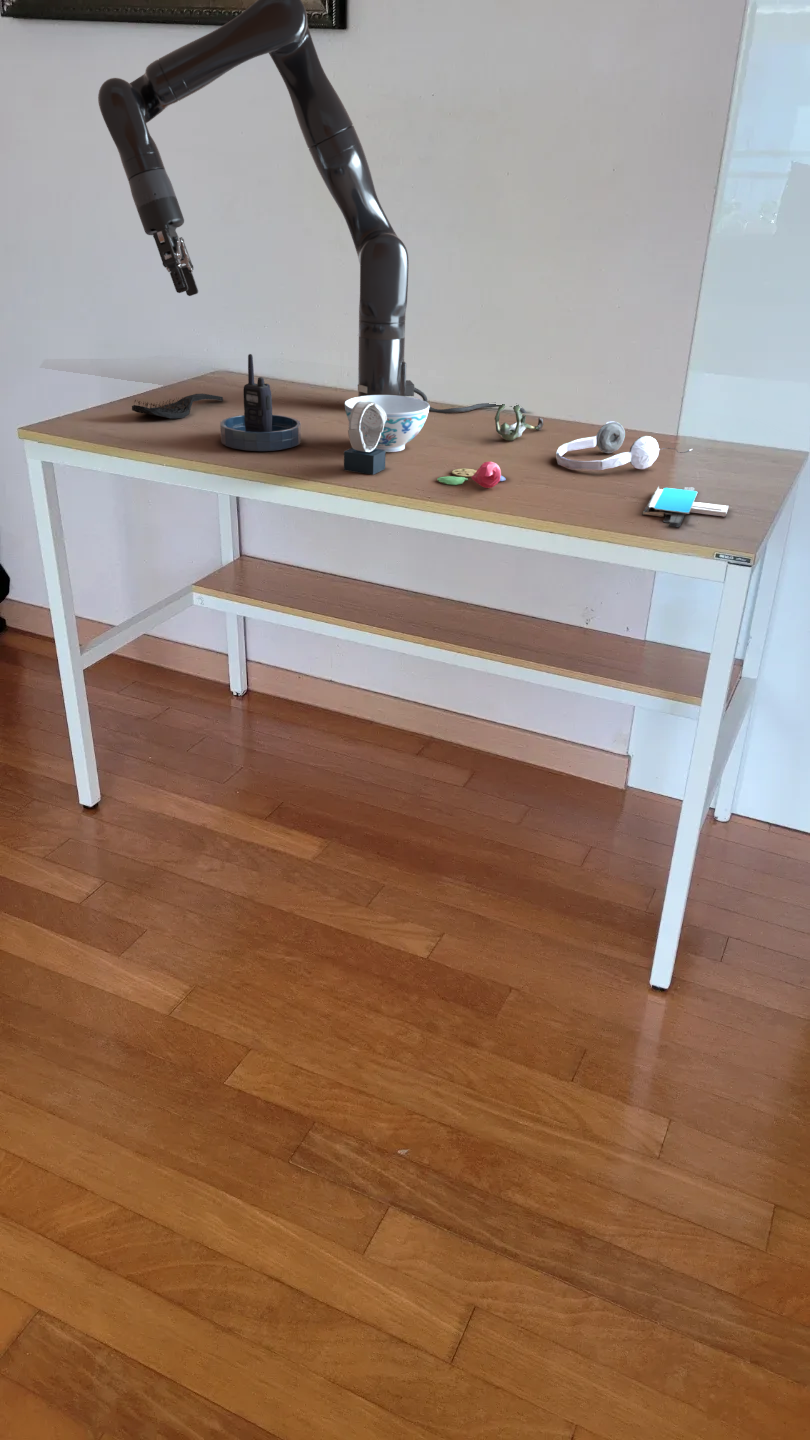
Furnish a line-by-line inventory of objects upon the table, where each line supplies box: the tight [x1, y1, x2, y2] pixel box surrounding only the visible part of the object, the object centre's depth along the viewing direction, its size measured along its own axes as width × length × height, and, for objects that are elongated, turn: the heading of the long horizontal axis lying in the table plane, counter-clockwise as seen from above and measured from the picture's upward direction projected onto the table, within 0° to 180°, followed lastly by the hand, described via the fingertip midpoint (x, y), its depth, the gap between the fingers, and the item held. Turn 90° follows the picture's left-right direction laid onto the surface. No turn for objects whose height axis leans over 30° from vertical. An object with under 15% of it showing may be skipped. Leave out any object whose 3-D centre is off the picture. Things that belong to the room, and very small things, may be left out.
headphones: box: [555, 421, 693, 471], centre depth 186 cm, size 17×6×20 cm
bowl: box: [219, 414, 302, 452], centre depth 192 cm, size 14×14×4 cm
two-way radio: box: [242, 353, 273, 432], centre depth 189 cm, size 6×4×15 cm
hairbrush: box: [131, 393, 224, 419], centre depth 212 cm, size 8×4×25 cm
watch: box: [343, 401, 387, 476], centre depth 177 cm, size 6×8×11 cm
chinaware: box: [344, 395, 431, 453], centre depth 190 cm, size 15×15×8 cm
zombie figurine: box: [494, 404, 544, 442], centre depth 201 cm, size 5×7×15 cm
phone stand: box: [642, 485, 729, 528], centre depth 164 cm, size 20×12×2 cm, turn 160°
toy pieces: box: [436, 460, 506, 489], centre depth 174 cm, size 12×11×4 cm
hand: (188, 293), depth 199 cm, fingers open, 8 cm apart
